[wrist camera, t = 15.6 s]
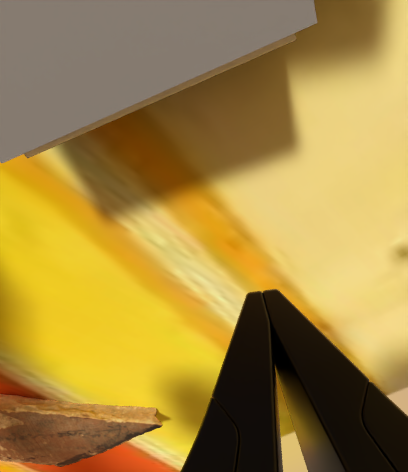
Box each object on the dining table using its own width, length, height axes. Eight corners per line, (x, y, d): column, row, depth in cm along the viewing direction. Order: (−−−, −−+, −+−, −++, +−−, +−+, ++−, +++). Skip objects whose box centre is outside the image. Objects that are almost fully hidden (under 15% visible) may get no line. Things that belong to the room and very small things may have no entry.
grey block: (63, 137, 13) (5, 169, 10) (-20, 2, 11) (-142, -29, 7) (281, 40, 12) (318, 32, 8) (239, -150, 9) (264, -304, 5)
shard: (165, 402, 24) (161, 431, 23) (152, 456, 29) (149, 483, 27) (-4, 382, 23) (-22, 411, 21) (12, 441, 28) (-2, 469, 26)
